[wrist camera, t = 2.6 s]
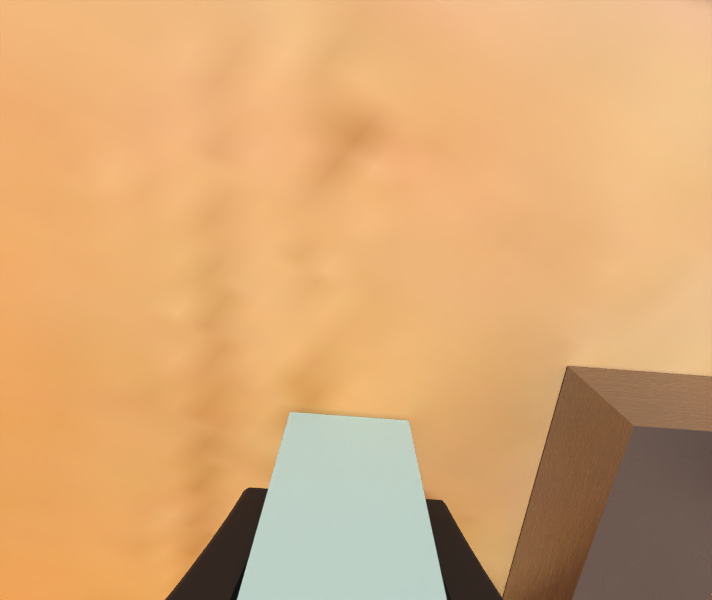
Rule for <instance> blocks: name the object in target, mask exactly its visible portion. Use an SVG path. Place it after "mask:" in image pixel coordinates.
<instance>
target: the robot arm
mask: <svg viewBox="0 0 712 600" xmlns="http://www.w3.org/2000/svg"><path fill="white" fill-rule="evenodd" d="M267 492H268V489H263V488H247V489H246V490H245V491H244V492H243V493H242V495H241V497H240V498H239V500H238V501H237V503H236V505H235V506H234V508H233V509H232V511H231V512H230V514H229V515H228V517H227V518H226V520H225V521H224V523H223V524H222V526H221V527H220V528H219V530H218V531H217V533H216V534H215V535H214V537H213V538H212V540H211V541H210V542H209V544H208V545H207V547H206V548H205V549H204V551H203V552H202V553H201V554H200V556H199V557H198V558H197V560H196V561H195V562H194V564H193V565H192V566H191V568H190V569H189V570H188V572H187V573H186V574H185V576H184V577H183V578H182V580H181V581H180V582H179V583H178V585H177V586H176V587H175V588H174V590H173V591H172V592H171V593H170V594H169V596H168V597H167V598H166V599H165V600H237V598H238V594H239V591H240V587H241V584H242V580H243V577H244V573H245V570H246V566H247V563H248V559H249V555H250V552H251V548H252V545H253V541H254V538H255V534H256V531H257V527H258V524H259V520H260V516H261V513H262V509H263V506H264V502H265V499H266V495H267ZM425 500H426V504H427V509H428V514H429V519H430V523H431V528H432V533H433V537H434V542H435V547H436V551H437V556H438V561H439V565H440V570H441V575H442V580H443V584H444V589H445V594H446V598H447V600H503V599H502V597H501V595H500V594H499V592H498V591H497V589H496V588H495V586H494V585H493V583H492V582H491V580H490V579H489V577H488V575H487V574H486V572H485V571H484V569H483V568H482V566H481V564H480V563H479V561H478V559H477V558H476V556H475V554H474V553H473V551H472V549H471V548H470V546H469V544H468V543H467V541H466V539H465V538H464V536H463V534H462V533H461V531H460V529H459V527H458V526H457V524H456V522H455V520H454V519H453V517H452V515H451V513H450V511H449V510H448V508H447V506H446V504H445V503H444V502H443V501H442V500H430V499H425Z"/></svg>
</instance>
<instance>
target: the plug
mask: <svg viewBox="0 0 712 600" xmlns="http://www.w3.org/2000/svg"><path fill="white" fill-rule="evenodd" d="M237 600H447V598H446V594H445V589H444V584H443V580H442V575H441V570H440V565H439V561H438V556H437V551H436V547H435V542H434V537H433V533H432V528H431V523H430V519H429V514H428V509H427V504H426V500H425V495H424V490H423V486H422V481H421V476H420V472H419V467H418V462H417V458H416V453H415V448H414V443H413V439H412V434H411V429H410V425H409V420H396V419H382V418H368V417H354V416H339V415H325V414H311V413H297V412H290V414H289V417H288V421H287V424H286V428H285V431H284V435H283V438H282V442H281V446H280V449H279V453H278V456H277V460H276V463H275V467H274V470H273V474H272V477H271V481H270V485H269V488H268V492H267V495H266V499H265V502H264V506H263V509H262V513H261V516H260V520H259V524H258V527H257V531H256V534H255V538H254V541H253V545H252V548H251V552H250V555H249V559H248V563H247V566H246V570H245V573H244V577H243V580H242V584H241V587H240V591H239V594H238V598H237Z"/></svg>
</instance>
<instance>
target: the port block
mask: <svg viewBox="0 0 712 600" xmlns="http://www.w3.org/2000/svg"><path fill="white" fill-rule="evenodd" d="M711 594H712V377H708V376H695V375H682V374H668V373H655V372H642V371H628V370H615V369H602V368H588V367H575V366H568V367H567V370H566V374H565V378H564V381H563V385H562V388H561V392H560V395H559V399H558V403H557V406H556V410H555V413H554V417H553V420H552V424H551V428H550V431H549V435H548V438H547V442H546V445H545V449H544V453H543V456H542V460H541V463H540V467H539V470H538V474H537V478H536V481H535V485H534V488H533V492H532V496H531V499H530V503H529V506H528V510H527V513H526V517H525V521H524V524H523V528H522V531H521V535H520V538H519V542H518V546H517V549H516V553H515V556H514V560H513V563H512V567H511V571H510V574H509V578H508V581H507V585H506V588H505V592H504V596H503V600H712V596H711Z"/></svg>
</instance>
